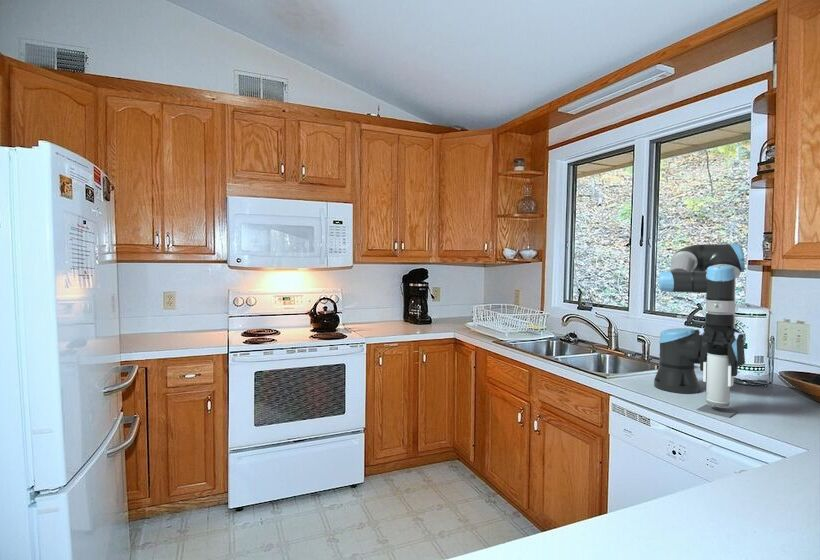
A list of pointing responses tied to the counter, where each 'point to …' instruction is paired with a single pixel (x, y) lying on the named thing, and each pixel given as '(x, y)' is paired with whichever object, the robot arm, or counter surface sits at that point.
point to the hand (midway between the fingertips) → (717, 383)
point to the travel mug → (717, 376)
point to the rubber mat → (717, 410)
